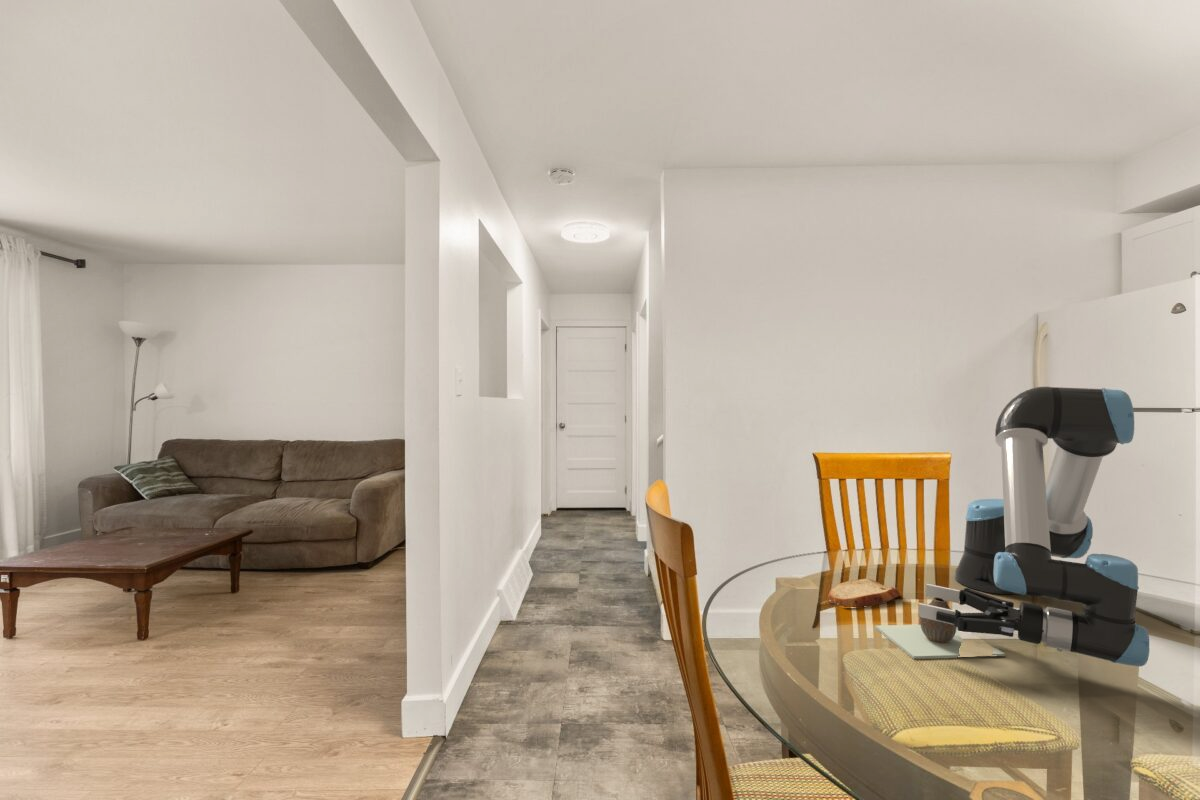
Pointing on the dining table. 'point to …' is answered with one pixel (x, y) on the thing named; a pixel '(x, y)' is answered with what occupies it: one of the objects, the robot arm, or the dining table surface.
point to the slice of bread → (862, 593)
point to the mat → (923, 642)
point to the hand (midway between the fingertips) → (922, 599)
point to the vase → (938, 625)
